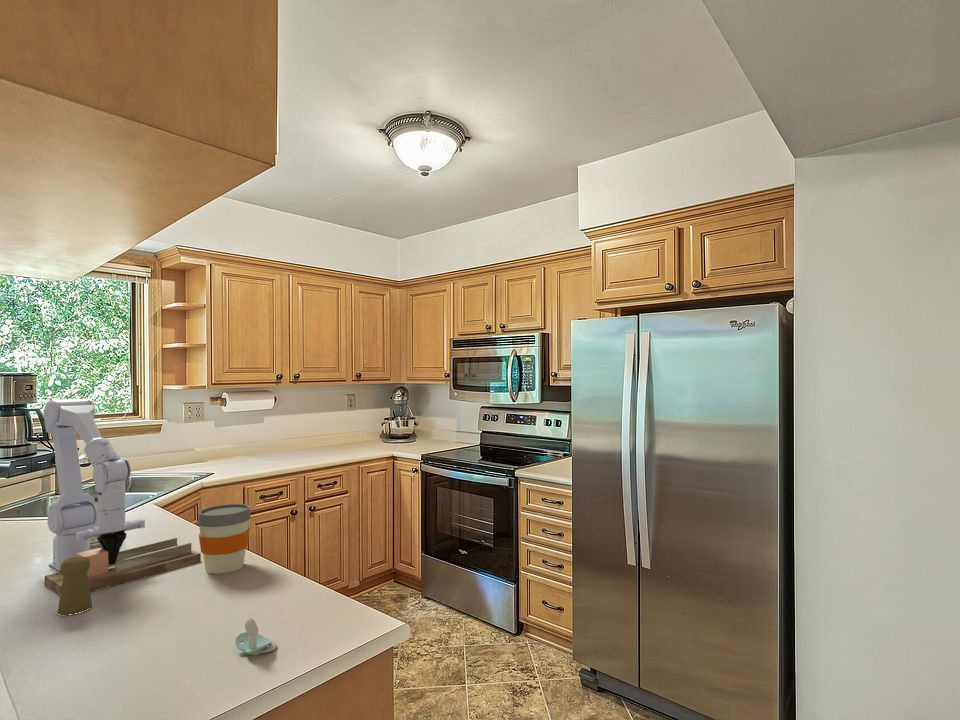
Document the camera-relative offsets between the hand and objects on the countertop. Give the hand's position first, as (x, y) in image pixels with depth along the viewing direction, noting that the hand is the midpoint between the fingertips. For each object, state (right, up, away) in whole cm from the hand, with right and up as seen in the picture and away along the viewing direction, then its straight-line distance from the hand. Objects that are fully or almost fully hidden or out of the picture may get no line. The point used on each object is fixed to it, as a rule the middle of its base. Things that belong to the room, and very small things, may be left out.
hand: (111, 563), depth 136 cm
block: (-2, -1, -3) cm, 4 cm away
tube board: (+2, -3, +3) cm, 5 cm away
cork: (+5, -3, -20) cm, 21 cm away
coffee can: (-25, -5, +29) cm, 38 cm away
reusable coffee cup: (+26, -3, +5) cm, 27 cm away
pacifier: (+52, -2, -37) cm, 64 cm away
